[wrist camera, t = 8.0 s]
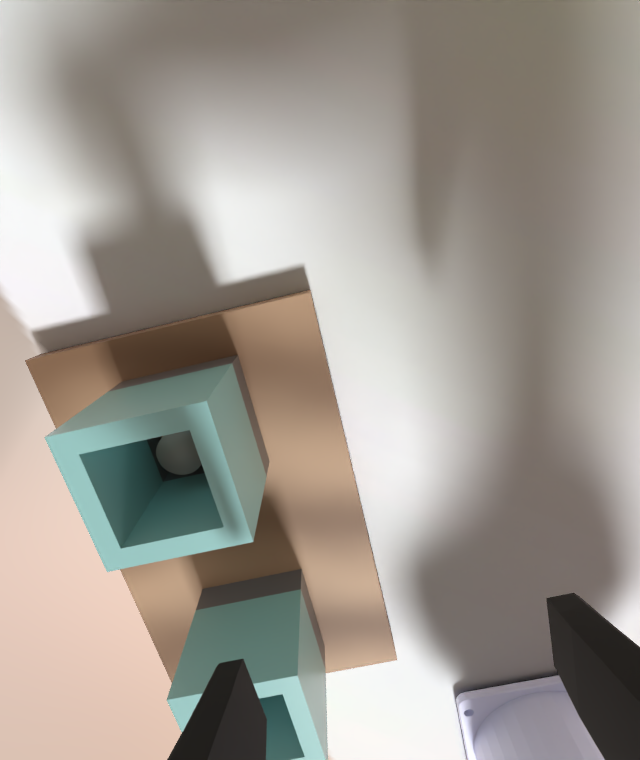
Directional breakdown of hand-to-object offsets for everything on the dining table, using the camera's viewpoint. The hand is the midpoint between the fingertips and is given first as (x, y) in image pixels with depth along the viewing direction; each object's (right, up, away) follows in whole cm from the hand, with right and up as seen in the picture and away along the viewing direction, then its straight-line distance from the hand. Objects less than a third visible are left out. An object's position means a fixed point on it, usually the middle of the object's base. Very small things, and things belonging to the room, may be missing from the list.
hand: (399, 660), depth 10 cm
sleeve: (-7, +5, +7) cm, 11 cm away
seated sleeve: (-4, -4, +10) cm, 12 cm away
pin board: (-6, 0, +9) cm, 11 cm away
